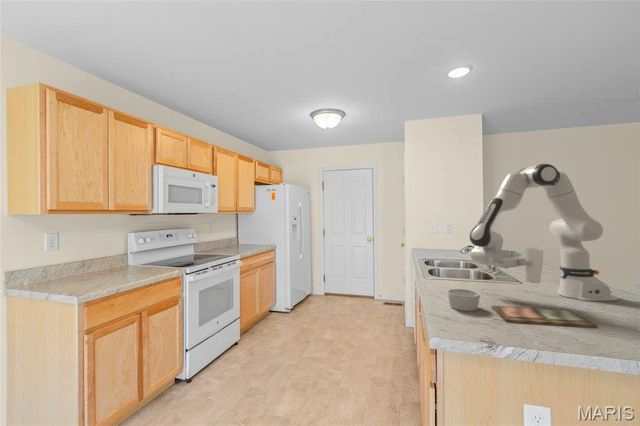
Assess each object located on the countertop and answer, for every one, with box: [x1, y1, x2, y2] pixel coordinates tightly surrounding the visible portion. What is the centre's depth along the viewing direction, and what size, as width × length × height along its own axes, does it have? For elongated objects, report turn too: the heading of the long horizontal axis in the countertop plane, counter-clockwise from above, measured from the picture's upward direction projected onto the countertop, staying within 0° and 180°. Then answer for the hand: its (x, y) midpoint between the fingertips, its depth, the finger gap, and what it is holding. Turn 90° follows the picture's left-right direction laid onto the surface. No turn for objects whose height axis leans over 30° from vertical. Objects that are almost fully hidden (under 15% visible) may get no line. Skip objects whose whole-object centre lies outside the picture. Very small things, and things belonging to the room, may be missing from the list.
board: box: [491, 305, 598, 329], centre depth 122 cm, size 30×18×1 cm, turn 76°
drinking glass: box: [524, 247, 544, 284], centre depth 135 cm, size 7×7×15 cm
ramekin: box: [447, 288, 481, 312], centre depth 136 cm, size 13×13×7 cm
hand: (536, 262), depth 135 cm, fingers closed on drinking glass, 6 cm apart
